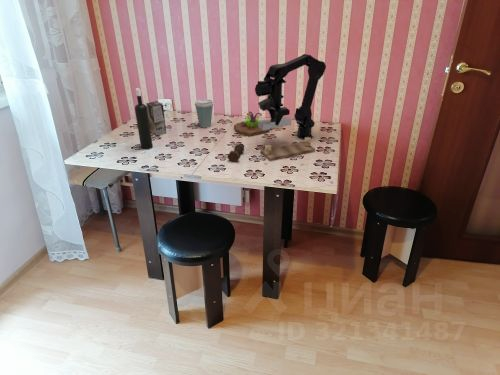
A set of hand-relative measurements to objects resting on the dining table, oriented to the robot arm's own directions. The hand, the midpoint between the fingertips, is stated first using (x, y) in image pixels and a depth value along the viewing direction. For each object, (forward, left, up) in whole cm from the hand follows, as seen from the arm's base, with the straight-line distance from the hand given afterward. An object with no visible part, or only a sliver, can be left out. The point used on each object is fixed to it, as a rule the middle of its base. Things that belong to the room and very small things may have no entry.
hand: (275, 124), depth 186 cm
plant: (+2, -25, -12) cm, 27 cm away
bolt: (+22, +4, -11) cm, 25 cm away
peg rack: (-1, +12, -11) cm, 16 cm away
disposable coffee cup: (+23, -42, -11) cm, 49 cm away
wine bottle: (+60, -25, -11) cm, 66 cm away
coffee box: (+50, -44, -11) cm, 68 cm away
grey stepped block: (0, 0, -1) cm, 1 cm away
